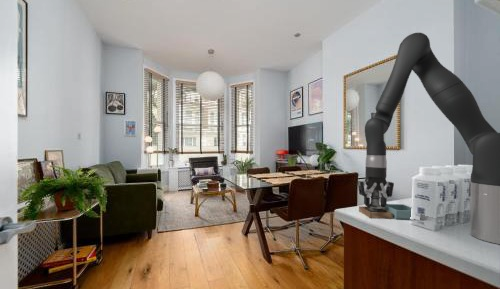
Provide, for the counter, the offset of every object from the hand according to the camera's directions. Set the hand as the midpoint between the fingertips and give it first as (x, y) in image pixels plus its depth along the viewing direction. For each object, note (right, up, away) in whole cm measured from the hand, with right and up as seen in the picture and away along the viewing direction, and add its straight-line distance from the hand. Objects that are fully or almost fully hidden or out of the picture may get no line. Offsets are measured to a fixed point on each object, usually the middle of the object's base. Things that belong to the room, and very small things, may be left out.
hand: (375, 206), depth 86 cm
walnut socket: (0, -4, 0) cm, 4 cm away
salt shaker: (0, -4, 0) cm, 4 cm away
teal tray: (+10, -4, -1) cm, 11 cm away
